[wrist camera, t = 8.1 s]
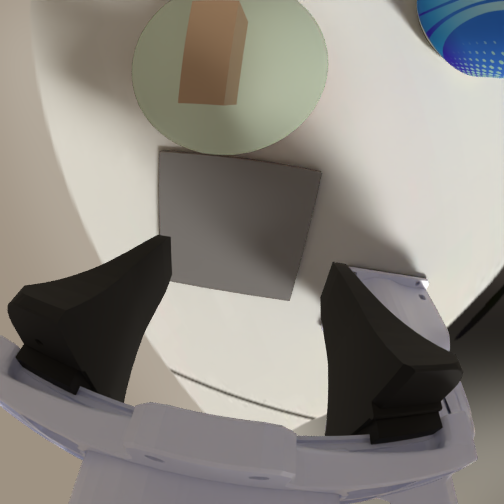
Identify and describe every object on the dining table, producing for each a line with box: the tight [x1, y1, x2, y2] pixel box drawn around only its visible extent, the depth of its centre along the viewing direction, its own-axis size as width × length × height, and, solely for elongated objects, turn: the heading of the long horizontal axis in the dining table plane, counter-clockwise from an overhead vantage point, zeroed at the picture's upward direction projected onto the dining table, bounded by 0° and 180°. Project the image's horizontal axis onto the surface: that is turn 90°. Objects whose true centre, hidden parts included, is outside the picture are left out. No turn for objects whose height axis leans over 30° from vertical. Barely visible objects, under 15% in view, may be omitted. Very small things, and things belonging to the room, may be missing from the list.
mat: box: [159, 150, 322, 301], centre depth 22 cm, size 12×12×1 cm
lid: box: [132, 0, 328, 155], centre depth 11 cm, size 11×11×4 cm
